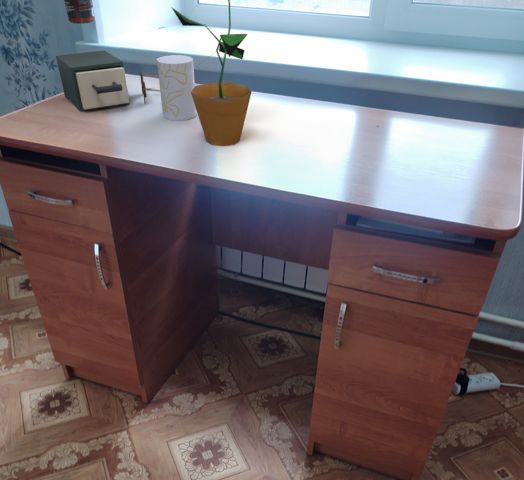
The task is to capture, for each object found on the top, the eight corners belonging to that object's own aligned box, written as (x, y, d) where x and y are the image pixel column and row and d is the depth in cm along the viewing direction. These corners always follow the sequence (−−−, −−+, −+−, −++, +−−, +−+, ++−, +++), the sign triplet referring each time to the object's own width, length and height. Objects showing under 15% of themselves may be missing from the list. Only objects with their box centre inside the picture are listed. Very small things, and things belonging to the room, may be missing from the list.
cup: (156, 117, 121) (150, 61, 113) (173, 107, 127) (168, 53, 119) (186, 122, 119) (182, 65, 111) (202, 112, 124) (198, 57, 116)
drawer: (136, 108, 123) (131, 72, 118) (90, 115, 119) (83, 78, 114) (112, 90, 134) (107, 57, 129) (70, 96, 130) (62, 62, 125)
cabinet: (129, 103, 129) (122, 61, 122) (80, 111, 124) (70, 67, 117) (111, 90, 137) (104, 50, 131) (65, 97, 132) (55, 55, 126)
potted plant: (214, 120, 120) (207, -38, 100) (280, 137, 112) (285, -31, 92) (162, 142, 109) (141, -31, 89) (230, 162, 101) (224, -22, 81)
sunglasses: (141, 91, 137) (140, 70, 134) (195, 93, 140) (195, 73, 137) (145, 107, 127) (143, 85, 123) (203, 109, 130) (204, 88, 127)
